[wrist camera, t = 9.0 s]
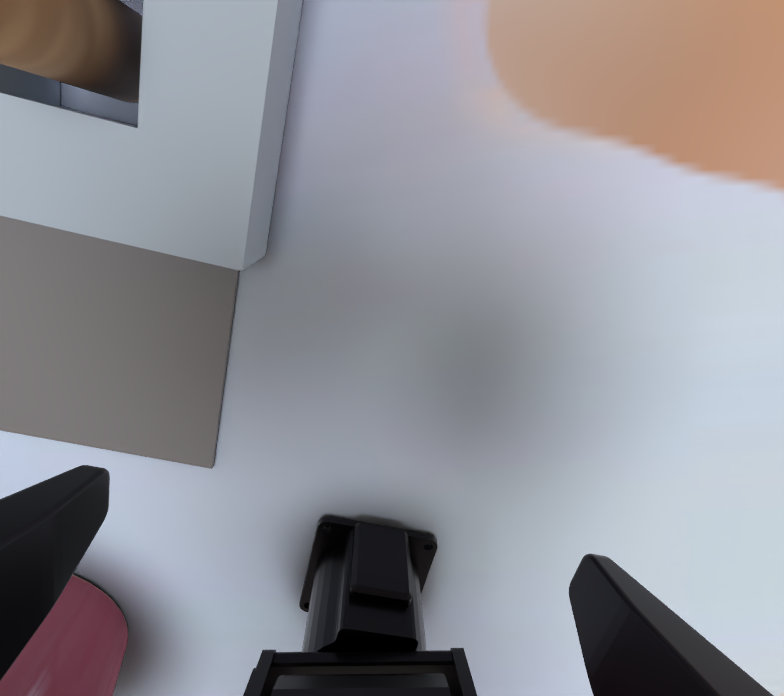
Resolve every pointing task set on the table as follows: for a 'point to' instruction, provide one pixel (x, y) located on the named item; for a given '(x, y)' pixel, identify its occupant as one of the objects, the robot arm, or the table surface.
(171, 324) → the mat
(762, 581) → the table surface
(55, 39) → the peg
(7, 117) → the socket block
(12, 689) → the plant pot
